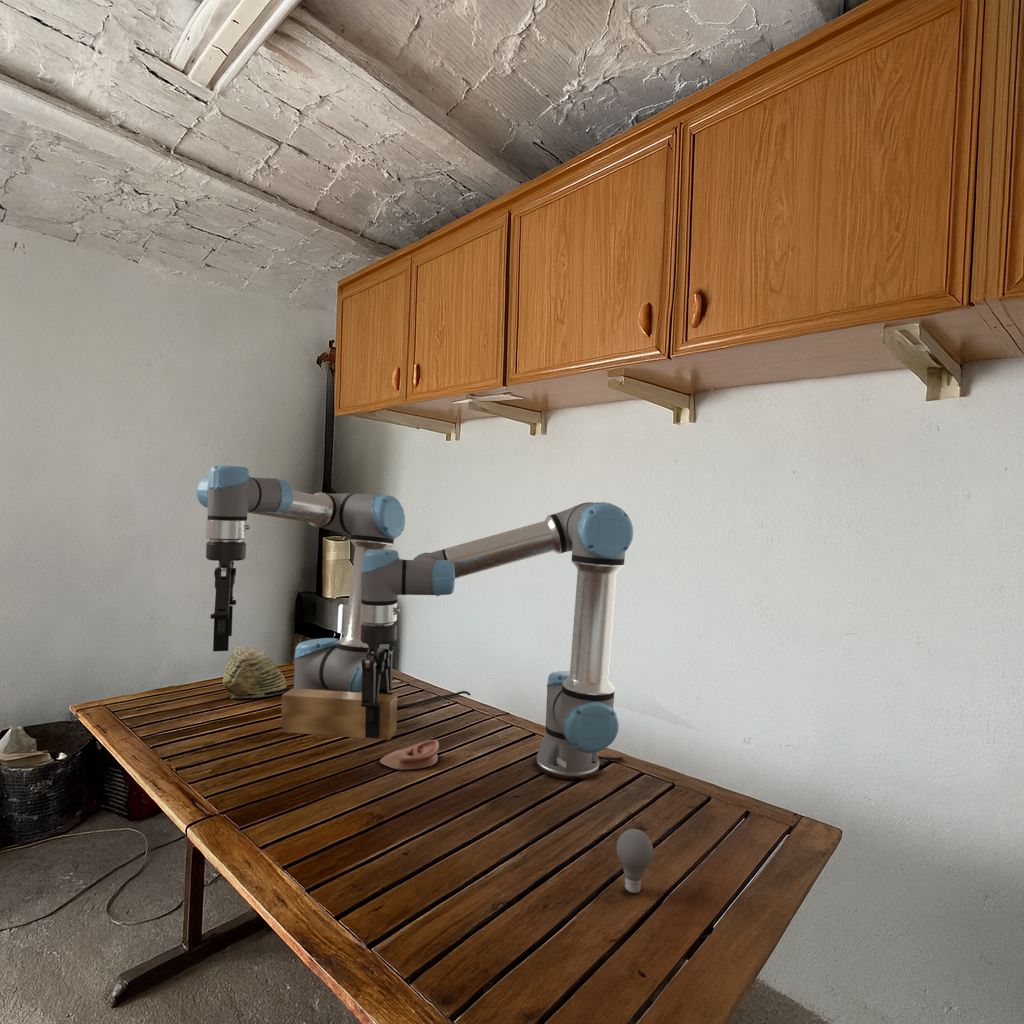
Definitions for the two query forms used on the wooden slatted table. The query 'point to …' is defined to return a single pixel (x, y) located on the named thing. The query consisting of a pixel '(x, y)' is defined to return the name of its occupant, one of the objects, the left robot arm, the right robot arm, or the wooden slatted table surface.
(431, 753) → the anatomical model
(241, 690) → the fossil
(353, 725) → the bar
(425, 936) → the wooden slatted table surface
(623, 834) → the light bulb
